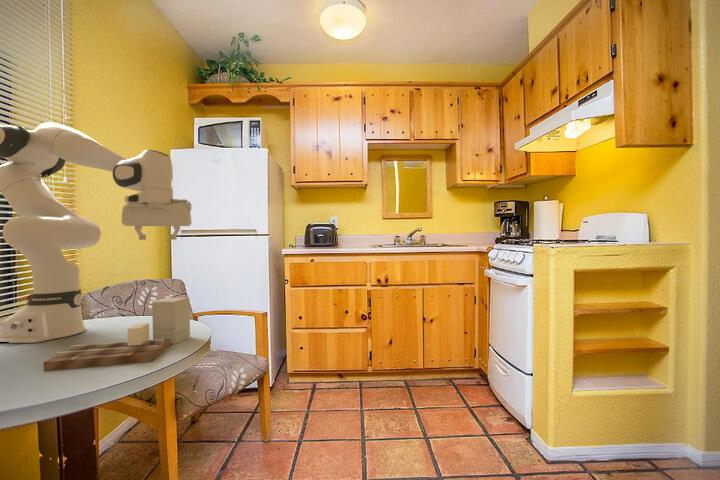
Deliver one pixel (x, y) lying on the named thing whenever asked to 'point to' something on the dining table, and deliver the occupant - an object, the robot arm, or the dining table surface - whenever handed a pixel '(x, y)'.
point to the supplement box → (171, 319)
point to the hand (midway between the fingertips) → (157, 239)
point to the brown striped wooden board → (106, 354)
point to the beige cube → (138, 335)
